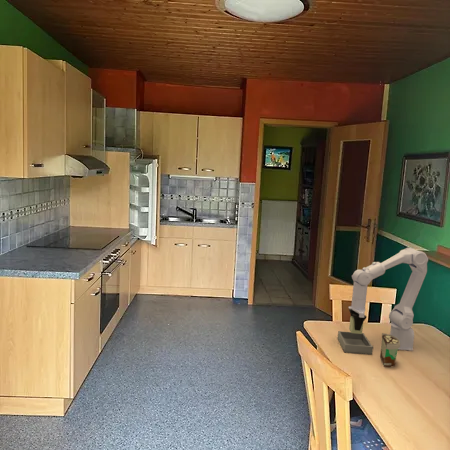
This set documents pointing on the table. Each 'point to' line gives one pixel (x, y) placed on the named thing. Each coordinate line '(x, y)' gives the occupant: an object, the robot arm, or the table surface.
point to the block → (354, 327)
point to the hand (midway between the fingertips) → (356, 328)
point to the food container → (389, 350)
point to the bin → (355, 343)
